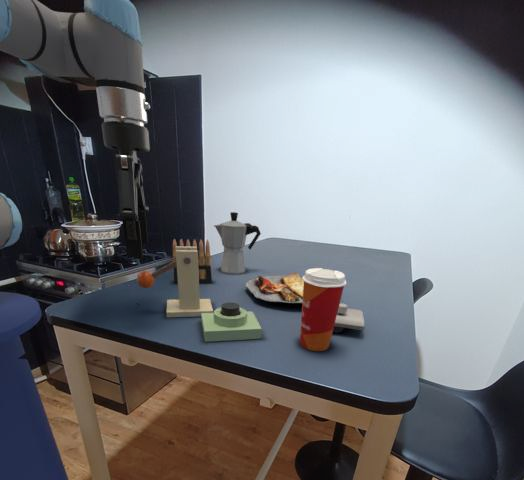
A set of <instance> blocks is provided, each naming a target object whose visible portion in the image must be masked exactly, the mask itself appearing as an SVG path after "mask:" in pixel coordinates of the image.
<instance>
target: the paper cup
mask: <svg viewBox="0 0 524 480" xmlns="http://www.w3.org/2000/svg"><path fill="white" fill-rule="evenodd" d="M302 277H303V278H302V279H303V281H304V287H303V302H302V303H301V304H302V305H301V319H300V335H299V336H300V337H299V342H300V343H299V344H300V345H301V347H302V348H304V349H305V350H308V351H312V352H322V351H326V350H327V349H328V348H329V347H330V343H331V340H332V337H333V333H334V331H333V328H334V324H335V320H336V316H337V312H338V308H339V304H340V303H341V300H342V297H343V296H342V295H343V291H344V288H345V286H346V285H347V280H346V274H345V273H344V272H341V271H340V270H332V269H329V268H325V269H324V268H323V267H314V268H308V269H306V270H305V273H304V275H303V276H302Z"/></svg>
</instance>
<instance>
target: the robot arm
mask: <svg viewBox="0 0 524 480" xmlns="http://www.w3.org/2000/svg"><path fill="white" fill-rule="evenodd" d="M83 4H84V5H83V11H84V12H64V11H55V10H53V9H51V8H49V7H48V6H46V5H45V4H43V3H41V2H40V1H39V0H0V52H3V53H6V54H8V55H11V56H13V57H15V58H17V59H18V60H19V61H20V62H22V64H24V66H26V68H27V69H28V70H29V71H31V72H32V73H35V74H37V75H43V76H49V77H51V78H59V77H63V78H64V77H66V78H68V77H69V78H90V79H94V81H95V87H96V88H95V91H96V98H97V104H98V114H99V117H100V118H101V119H102V120H103V122H102V124H101V131H102V139H103V145H104V147H105V148H107V149H109V150H116V151H118V153H117V154H115V157H114V159H115V163H116V164H115V165H116V173H117V175H116V176H117V190H118V206H119V212H118V214H116V219H117V221H122V229H123V237H124V242H125V251H126V252H125V253H126V258H127V259H144V254H143V245H148V244H149V235H148V226H147V214H146V212H149V211H150V210H149V205H146V201H145V193H144V186H143V183H144V181H143V180H144V179H143V164H142V163H141V159H140V158H139V157H138V156H137V153H138V152H139V153H148V152H150V151H151V147H150V133H149V130H148V127H145V125H146V124H148V114H147V111H146V110H150V109H151V105H150V102H146V89H145V78H144V77H145V76H144V62H143V61H144V60H143V41H142V36H141V28H140V21H139V14H138V11H137V8H136V6H135V5H134V3H132V2H131V0H83ZM22 231H23V220H22V216H21V213H20V211H19V208H18V207H17V205H16V204H15V202H14V201H13V200H12V199H11V198H9V197H7V195H6V194H4V193H2V192H0V250H3V248H6V247H7V248H8V247H10V246H13V245H14V244H15V243H17V241H18V240H19V239H20V236H21V233H22Z"/></svg>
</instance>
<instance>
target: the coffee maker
mask: <svg viewBox="0 0 524 480" xmlns="http://www.w3.org/2000/svg"><path fill="white" fill-rule="evenodd" d="M238 217H239V213H238V212H235V211H232V212H230V220H228V221H225V222H221V223H219V224H214V225H213V227H214V228H215V229H216V231H217V233H218V234H219V237H220V240H221V245H222V246H223V253H222V261H221V267H220V272H221V273H225V274H229V275H231V274H232V275H239V274H245V273H246V266H245V265H246V264H245V255H244V247H245V246H246V241H247V236H248V235H251V234H253V233H256V234H255V236H254V237H253V239H252V240H251V242H250V243H249V245H248V246H247V248H248V249H249V251H251V250H252V248H253V246H255V243H256V242H257V240H258V239H259V237H260V236H261V234H262V233H261V231H260V228H259V226H257V225H253V224H252V223H249V222H244V223H243V222H241V221H238Z"/></svg>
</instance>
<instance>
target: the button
mask: <svg viewBox="0 0 524 480" xmlns="http://www.w3.org/2000/svg"><path fill="white" fill-rule="evenodd" d="M220 308H221V314H222V315H224V316H229V317H230V316H238V315H239V314H240V308H241V307H240V304H239V303H236V302H224V303H222V304H221V306H220Z"/></svg>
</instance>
